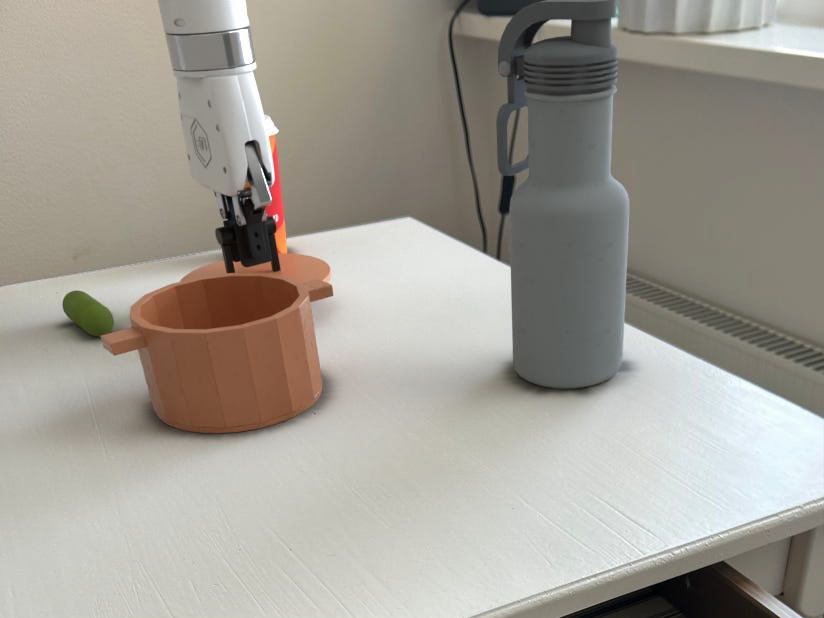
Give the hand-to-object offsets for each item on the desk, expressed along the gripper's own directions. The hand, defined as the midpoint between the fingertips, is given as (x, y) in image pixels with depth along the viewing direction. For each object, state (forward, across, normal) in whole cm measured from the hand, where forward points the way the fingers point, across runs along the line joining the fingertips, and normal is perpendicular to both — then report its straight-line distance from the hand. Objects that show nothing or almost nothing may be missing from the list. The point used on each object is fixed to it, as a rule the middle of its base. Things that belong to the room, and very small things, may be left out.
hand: (251, 260), depth 100 cm
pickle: (+6, -9, -15) cm, 19 cm away
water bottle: (+6, +33, +14) cm, 36 cm away
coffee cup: (+6, -19, +10) cm, 22 cm away
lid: (+2, 0, 0) cm, 2 cm away
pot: (+6, +18, -11) cm, 22 cm away
